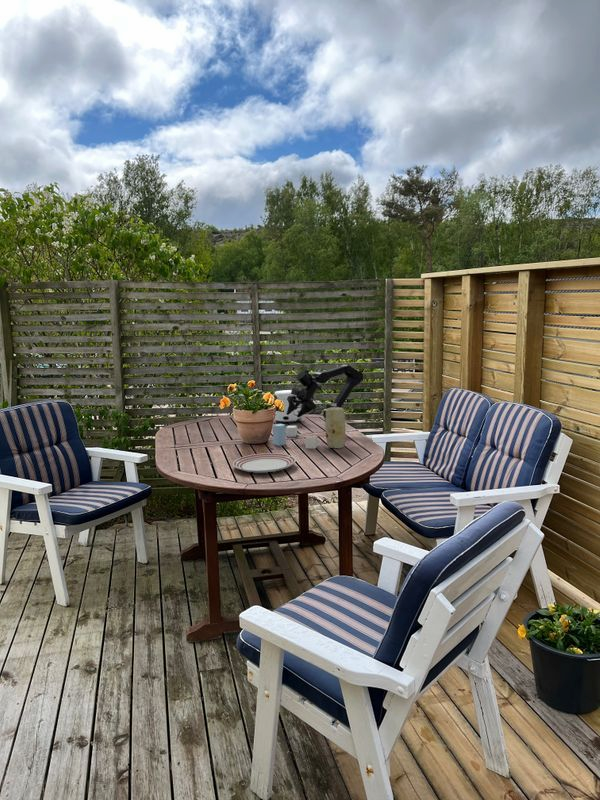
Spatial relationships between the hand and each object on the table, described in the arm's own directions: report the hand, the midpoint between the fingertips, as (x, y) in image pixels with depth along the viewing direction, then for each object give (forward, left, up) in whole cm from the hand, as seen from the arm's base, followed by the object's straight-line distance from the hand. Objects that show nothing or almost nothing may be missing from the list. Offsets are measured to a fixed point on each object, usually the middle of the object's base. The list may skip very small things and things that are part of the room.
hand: (292, 415), depth 299 cm
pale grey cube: (+4, -14, -14) cm, 20 cm away
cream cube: (-11, +10, -14) cm, 20 cm away
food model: (-23, +10, -14) cm, 29 cm away
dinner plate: (+3, +48, -14) cm, 50 cm away
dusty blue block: (+6, +6, -14) cm, 16 cm away
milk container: (+14, -51, -14) cm, 54 cm away
